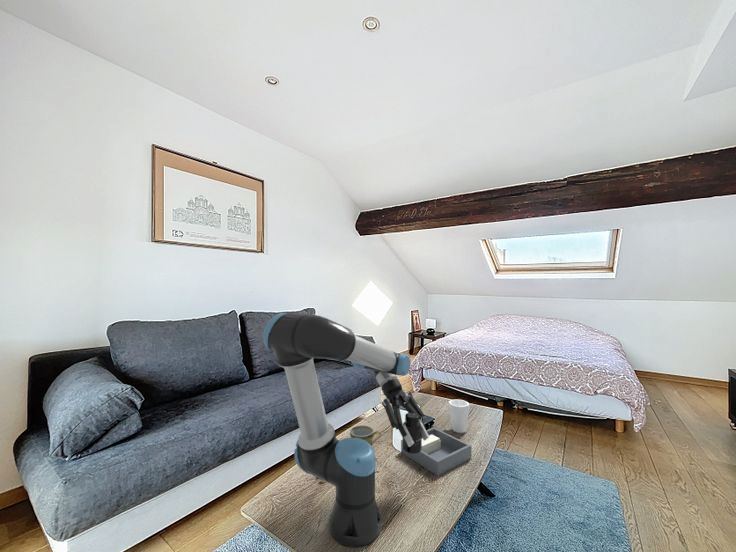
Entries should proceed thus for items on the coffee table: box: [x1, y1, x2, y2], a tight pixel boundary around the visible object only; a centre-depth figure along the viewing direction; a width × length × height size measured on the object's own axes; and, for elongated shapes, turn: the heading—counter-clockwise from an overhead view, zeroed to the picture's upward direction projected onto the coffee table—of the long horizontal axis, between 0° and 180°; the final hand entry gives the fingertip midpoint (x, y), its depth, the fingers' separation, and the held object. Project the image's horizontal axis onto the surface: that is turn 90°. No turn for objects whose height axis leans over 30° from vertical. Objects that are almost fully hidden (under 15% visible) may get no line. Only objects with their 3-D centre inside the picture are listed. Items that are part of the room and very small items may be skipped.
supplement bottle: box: [401, 412, 422, 454], centre depth 112 cm, size 7×7×12 cm
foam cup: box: [448, 399, 470, 434], centre depth 154 cm, size 10×9×13 cm
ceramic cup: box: [349, 424, 382, 447], centre depth 132 cm, size 13×10×10 cm
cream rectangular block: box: [421, 435, 441, 454], centre depth 133 cm, size 12×5×4 cm, turn 126°
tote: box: [400, 427, 472, 477], centre depth 129 cm, size 20×20×6 cm
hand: (419, 441), depth 109 cm, fingers closed on supplement bottle, 7 cm apart
